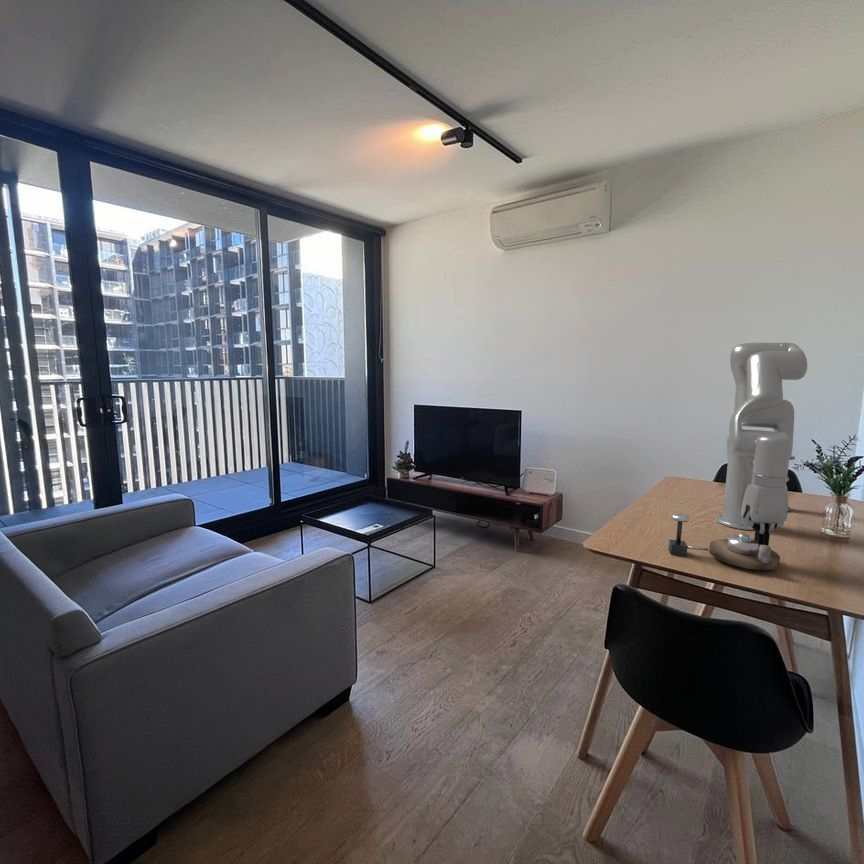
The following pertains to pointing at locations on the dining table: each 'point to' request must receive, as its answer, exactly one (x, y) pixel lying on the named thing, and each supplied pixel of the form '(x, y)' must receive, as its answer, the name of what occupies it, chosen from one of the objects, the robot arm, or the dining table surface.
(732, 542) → the lid
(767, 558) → the turntable
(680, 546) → the lever with ball knob
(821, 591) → the dining table surface
